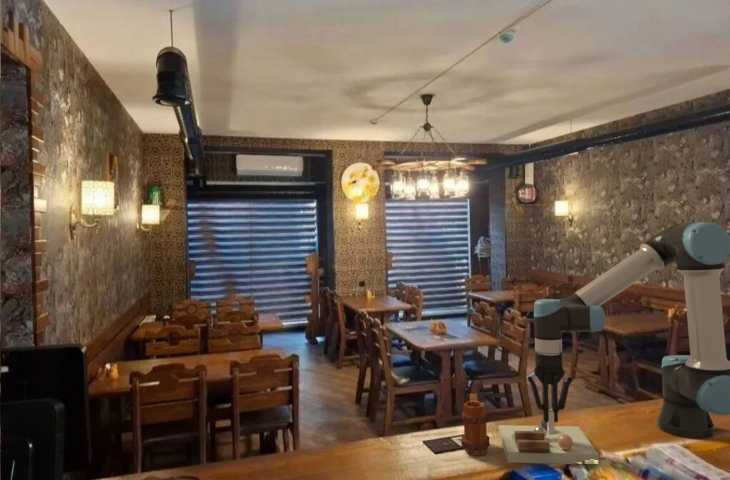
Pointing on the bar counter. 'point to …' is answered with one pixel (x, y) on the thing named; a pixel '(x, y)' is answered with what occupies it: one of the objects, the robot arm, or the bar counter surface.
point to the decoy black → (544, 424)
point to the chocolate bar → (445, 444)
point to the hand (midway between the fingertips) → (550, 432)
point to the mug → (475, 427)
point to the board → (557, 455)
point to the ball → (540, 430)
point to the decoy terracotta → (565, 442)
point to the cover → (531, 442)
